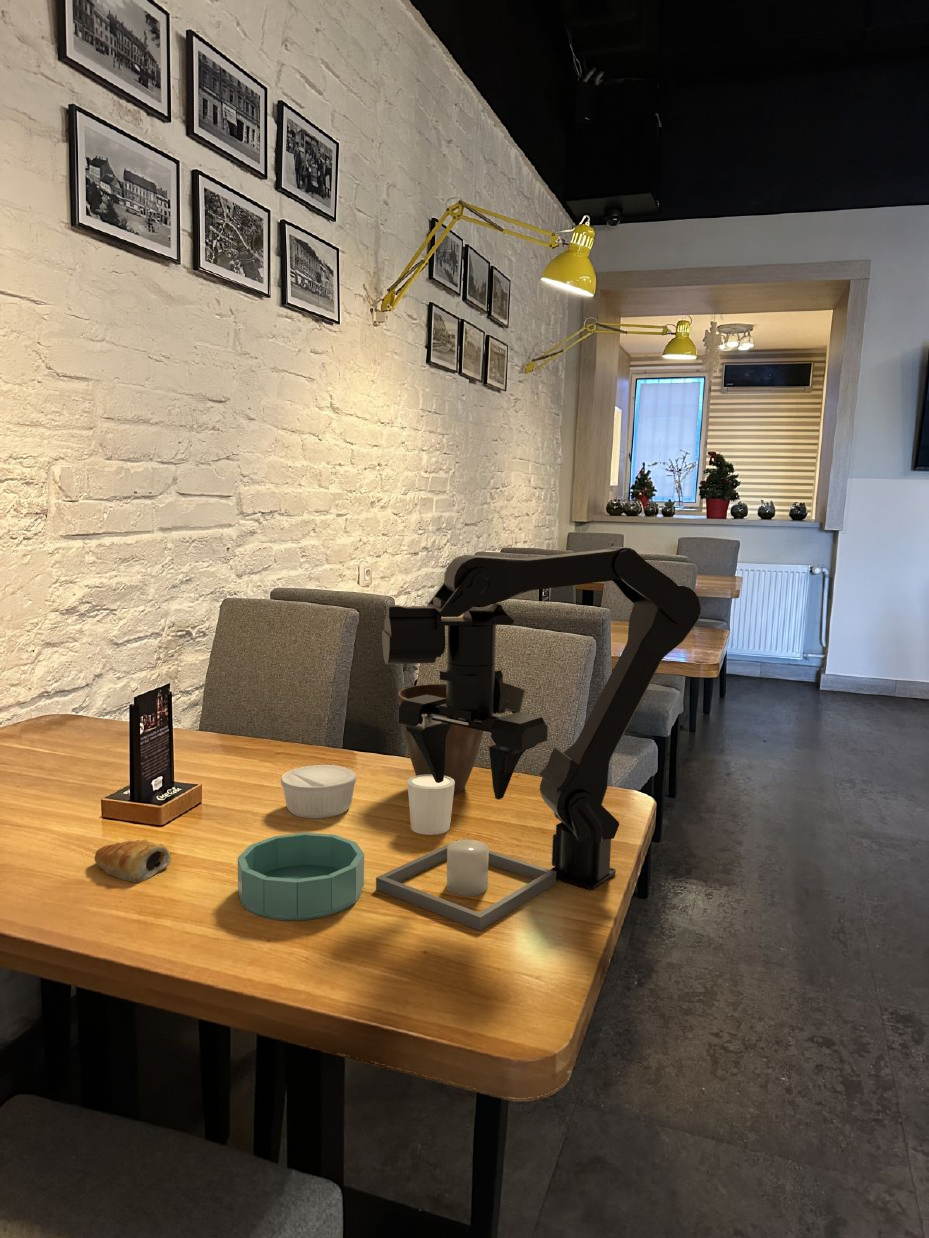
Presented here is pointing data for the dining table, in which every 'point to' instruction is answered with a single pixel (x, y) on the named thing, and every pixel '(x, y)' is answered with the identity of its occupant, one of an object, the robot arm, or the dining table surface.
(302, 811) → the ramekin
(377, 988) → the dining table surface
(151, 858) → the pastry
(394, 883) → the gray square frame
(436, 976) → the dining table surface
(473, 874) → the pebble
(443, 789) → the white cup
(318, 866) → the bowl
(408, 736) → the plant pot
